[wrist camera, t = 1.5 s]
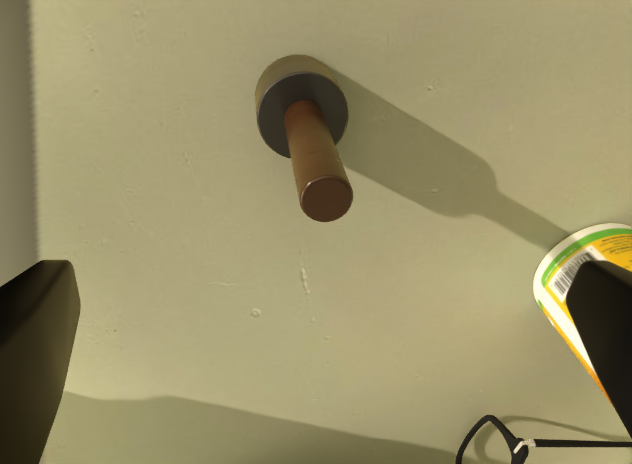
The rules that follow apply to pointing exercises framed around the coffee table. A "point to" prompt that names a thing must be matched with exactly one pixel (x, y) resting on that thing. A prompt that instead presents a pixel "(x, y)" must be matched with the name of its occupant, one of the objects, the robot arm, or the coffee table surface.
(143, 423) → the coffee table surface
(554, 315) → the supplement bottle
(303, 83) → the stick grenade
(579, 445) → the eyeglasses
